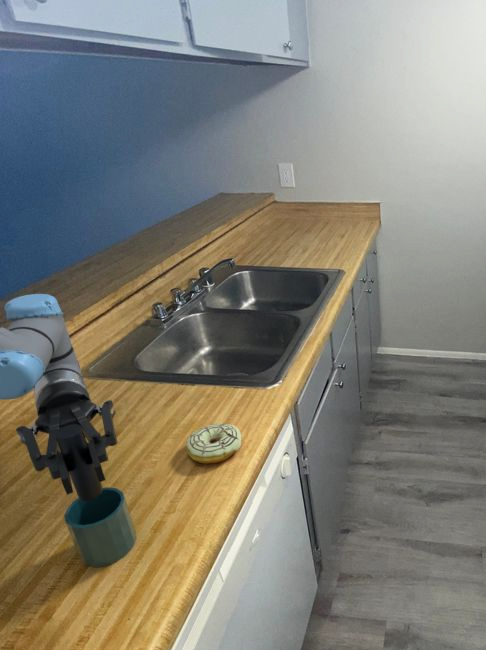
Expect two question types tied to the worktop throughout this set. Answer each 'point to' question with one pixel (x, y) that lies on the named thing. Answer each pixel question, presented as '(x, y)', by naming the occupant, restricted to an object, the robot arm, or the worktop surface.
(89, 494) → the black cylinder
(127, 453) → the worktop surface
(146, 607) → the worktop surface
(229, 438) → the decorated donut
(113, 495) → the cup
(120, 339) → the worktop surface
